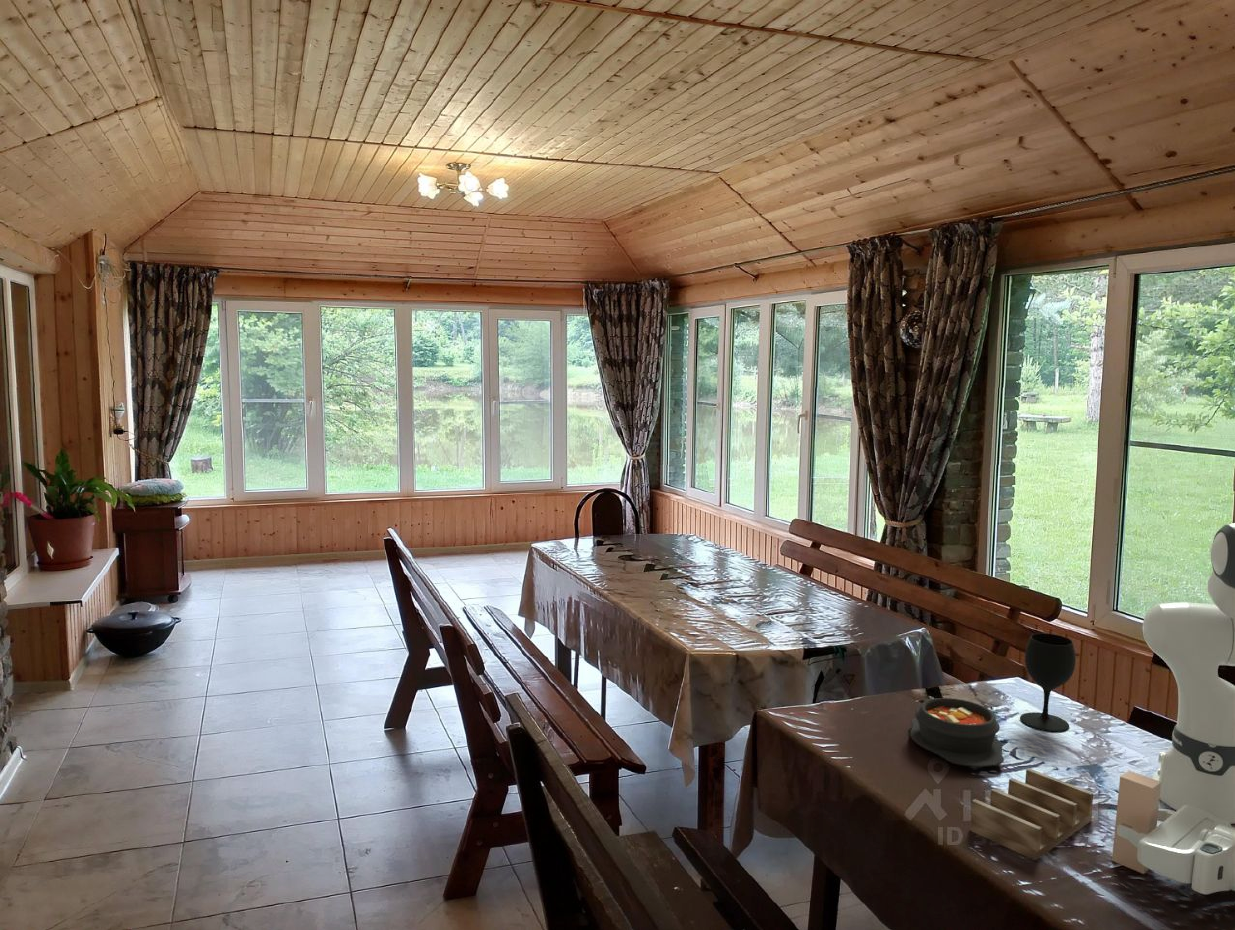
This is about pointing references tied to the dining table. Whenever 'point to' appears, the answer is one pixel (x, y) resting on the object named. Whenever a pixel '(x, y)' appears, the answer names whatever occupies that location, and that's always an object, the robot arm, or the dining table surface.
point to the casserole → (958, 732)
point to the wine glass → (1048, 675)
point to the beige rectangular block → (1135, 815)
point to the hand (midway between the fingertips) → (1130, 819)
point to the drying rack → (1032, 814)
